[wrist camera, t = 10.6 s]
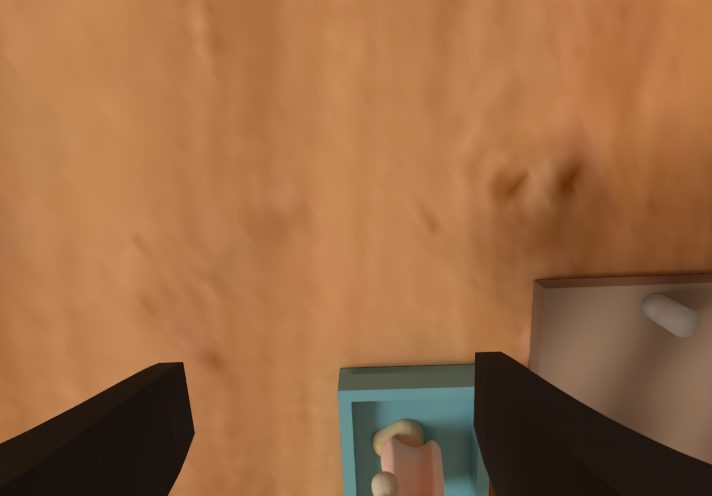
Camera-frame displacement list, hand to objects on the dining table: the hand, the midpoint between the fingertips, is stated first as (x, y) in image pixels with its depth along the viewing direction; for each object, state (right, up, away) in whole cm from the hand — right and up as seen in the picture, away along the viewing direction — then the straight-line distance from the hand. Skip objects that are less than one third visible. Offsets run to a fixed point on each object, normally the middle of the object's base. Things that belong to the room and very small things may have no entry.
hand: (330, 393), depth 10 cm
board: (+14, -5, +12) cm, 19 cm away
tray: (+4, -8, +13) cm, 15 cm away
